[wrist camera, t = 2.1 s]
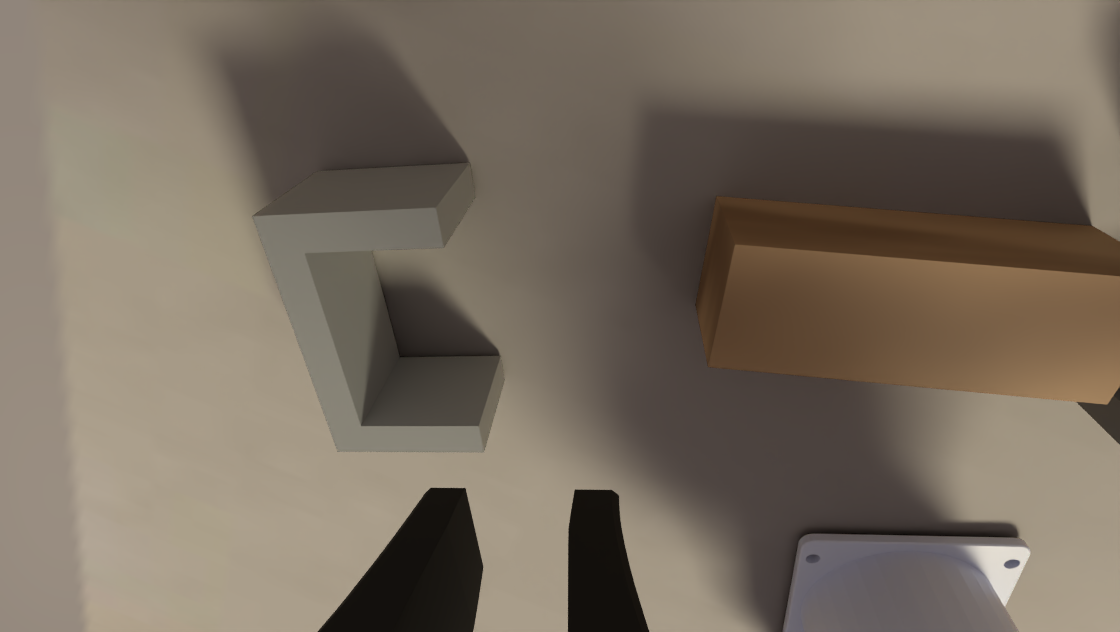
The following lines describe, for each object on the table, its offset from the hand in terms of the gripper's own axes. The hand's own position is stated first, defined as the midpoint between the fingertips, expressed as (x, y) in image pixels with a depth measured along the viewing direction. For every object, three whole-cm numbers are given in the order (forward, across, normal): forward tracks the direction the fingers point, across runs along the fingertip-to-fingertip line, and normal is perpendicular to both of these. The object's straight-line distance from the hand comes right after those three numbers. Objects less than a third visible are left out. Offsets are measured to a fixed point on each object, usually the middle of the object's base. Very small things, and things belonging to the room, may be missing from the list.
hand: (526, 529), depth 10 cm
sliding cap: (+9, +5, 0) cm, 11 cm away
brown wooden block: (+10, -9, 0) cm, 13 cm away
